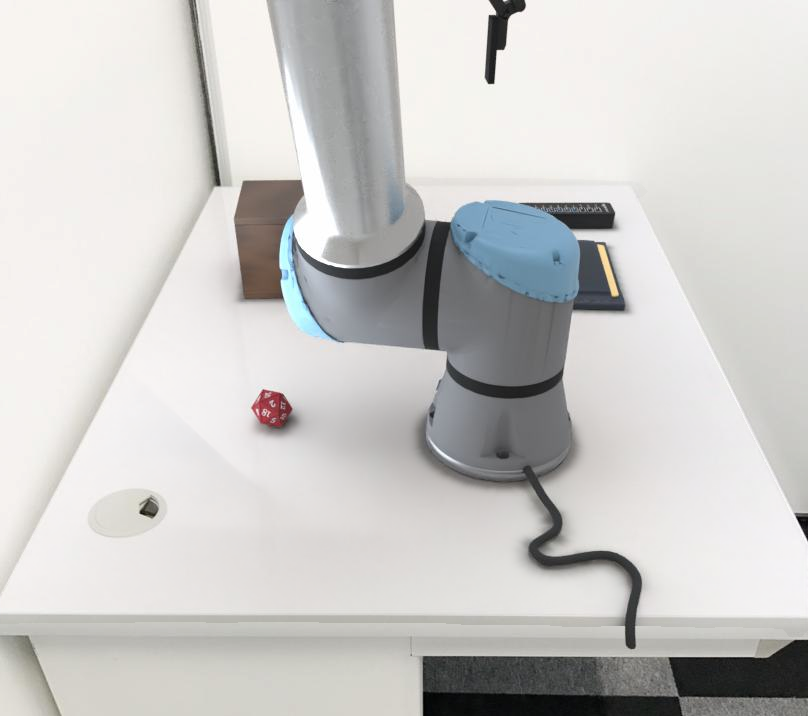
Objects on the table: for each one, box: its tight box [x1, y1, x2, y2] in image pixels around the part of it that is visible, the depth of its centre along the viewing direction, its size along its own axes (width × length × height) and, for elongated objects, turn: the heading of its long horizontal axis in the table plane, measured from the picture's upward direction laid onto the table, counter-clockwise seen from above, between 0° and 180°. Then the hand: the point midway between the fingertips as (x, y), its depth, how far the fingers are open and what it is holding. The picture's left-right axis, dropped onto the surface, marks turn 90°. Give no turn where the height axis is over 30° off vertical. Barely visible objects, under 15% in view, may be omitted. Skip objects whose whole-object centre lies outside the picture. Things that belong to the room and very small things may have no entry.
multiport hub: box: [518, 202, 616, 229], centre depth 131 cm, size 4×14×2 cm, turn 92°
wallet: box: [573, 239, 626, 311], centre depth 118 cm, size 20×2×15 cm
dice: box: [250, 388, 293, 428], centre depth 90 cm, size 4×4×4 cm
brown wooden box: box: [233, 179, 304, 300], centre depth 114 cm, size 15×13×11 cm
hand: (432, 82), depth 100 cm, fingers open, 13 cm apart
